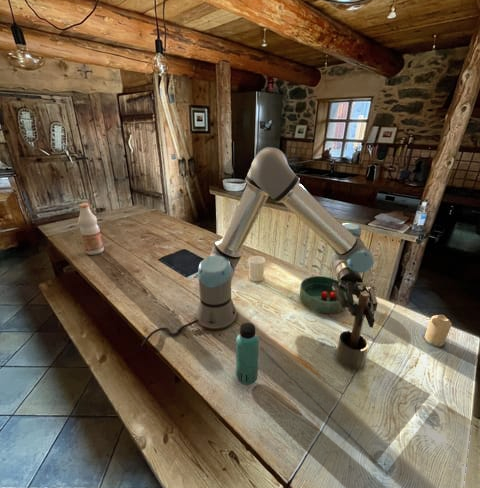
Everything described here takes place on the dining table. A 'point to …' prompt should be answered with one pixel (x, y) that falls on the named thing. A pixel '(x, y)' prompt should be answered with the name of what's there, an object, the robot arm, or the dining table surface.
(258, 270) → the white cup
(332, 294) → the tomato
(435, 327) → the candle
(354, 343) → the stirring stick
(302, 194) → the robot arm
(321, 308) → the bowl
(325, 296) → the tomato
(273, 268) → the dining table surface
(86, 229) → the fruit juice
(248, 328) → the beverage bottle
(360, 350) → the crock
